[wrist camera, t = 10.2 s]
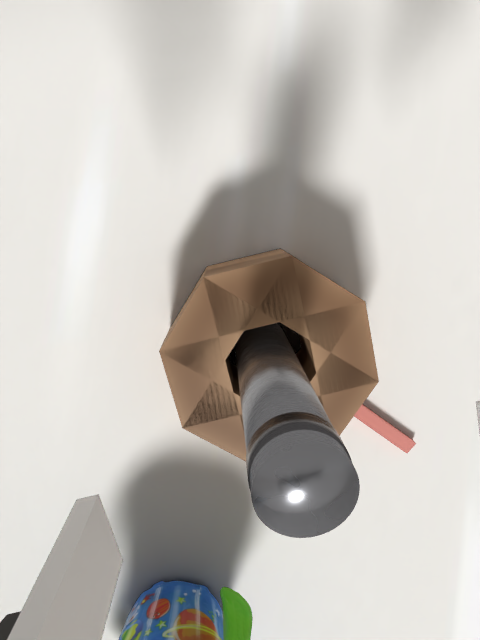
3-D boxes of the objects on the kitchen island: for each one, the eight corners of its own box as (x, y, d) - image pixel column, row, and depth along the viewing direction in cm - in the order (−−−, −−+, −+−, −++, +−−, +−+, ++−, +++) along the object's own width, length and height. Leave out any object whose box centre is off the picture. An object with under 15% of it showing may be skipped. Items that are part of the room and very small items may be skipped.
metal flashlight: (240, 373, 30) (263, 549, 15) (228, 324, 29) (238, 457, 14) (291, 360, 30) (368, 525, 14) (280, 311, 29) (351, 431, 13)
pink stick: (279, 361, 30) (280, 364, 29) (287, 350, 30) (288, 353, 29) (404, 449, 32) (406, 453, 31) (413, 440, 32) (415, 443, 31)
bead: (201, 436, 31) (197, 478, 26) (155, 278, 28) (141, 292, 23) (361, 399, 31) (387, 433, 26) (332, 235, 28) (355, 240, 23)
